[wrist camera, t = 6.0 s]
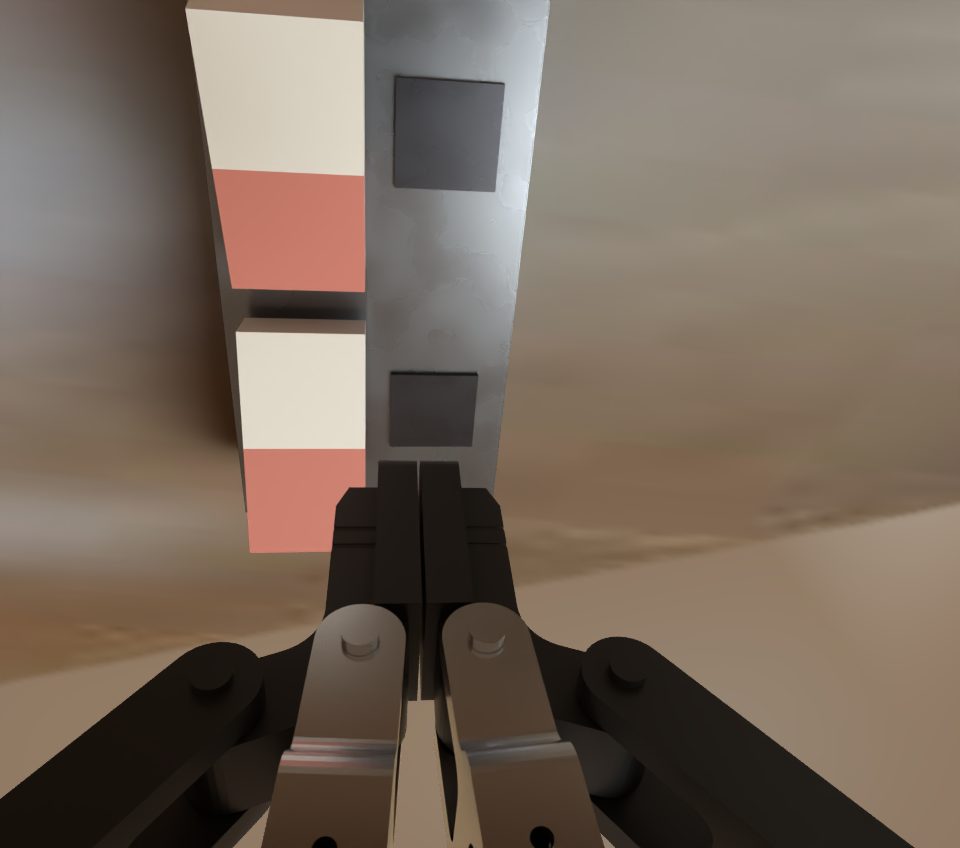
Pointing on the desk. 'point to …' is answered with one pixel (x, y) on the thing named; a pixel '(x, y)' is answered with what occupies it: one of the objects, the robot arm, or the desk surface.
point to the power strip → (429, 228)
